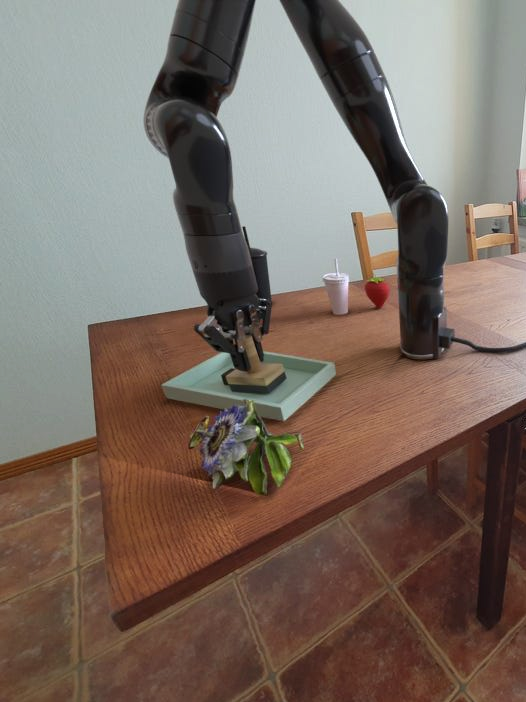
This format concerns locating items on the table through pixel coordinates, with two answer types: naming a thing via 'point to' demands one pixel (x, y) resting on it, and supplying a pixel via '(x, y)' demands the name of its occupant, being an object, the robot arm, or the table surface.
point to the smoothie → (337, 290)
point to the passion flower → (243, 447)
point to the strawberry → (377, 291)
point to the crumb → (226, 375)
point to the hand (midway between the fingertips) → (250, 365)
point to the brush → (256, 373)
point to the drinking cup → (259, 269)
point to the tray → (279, 404)
